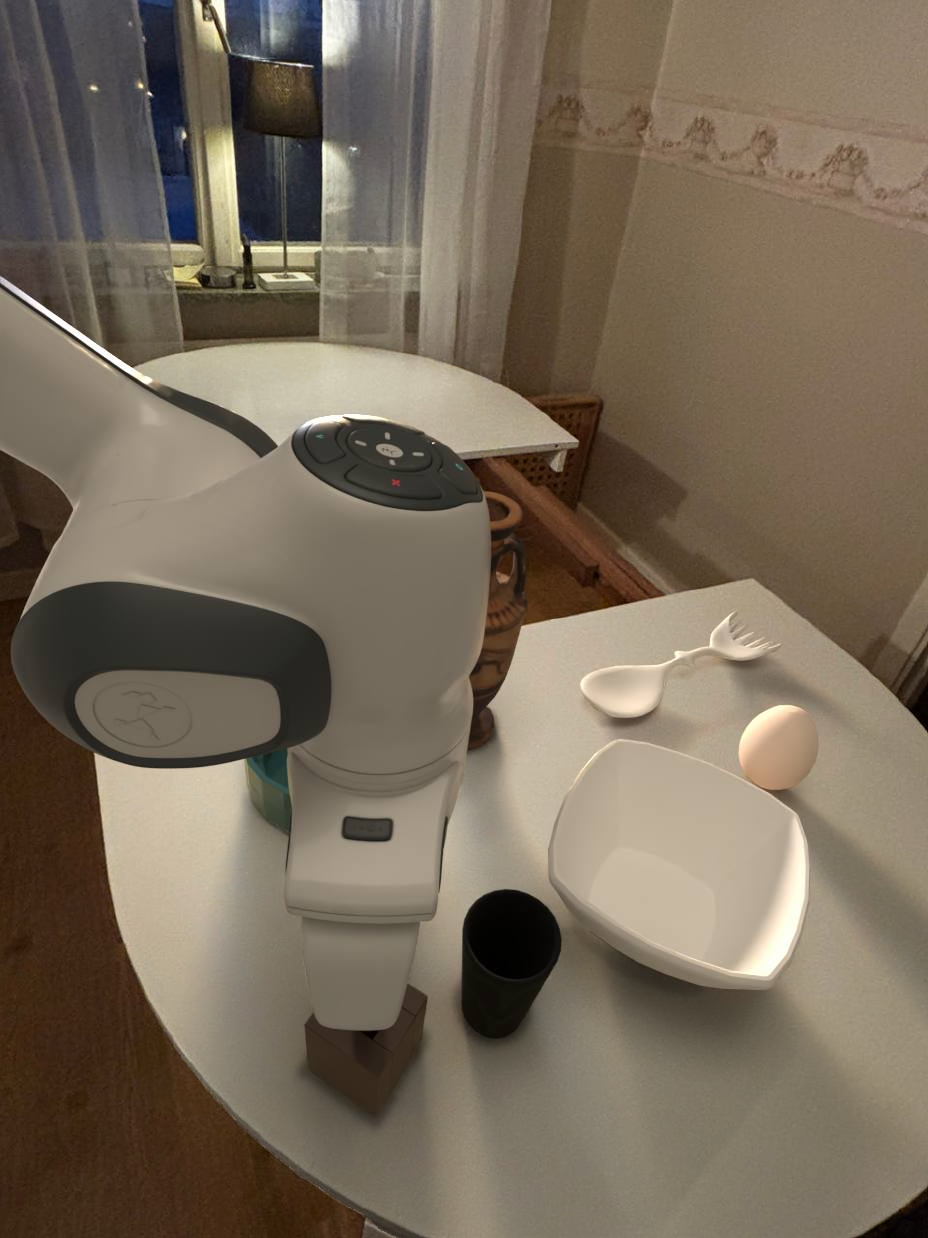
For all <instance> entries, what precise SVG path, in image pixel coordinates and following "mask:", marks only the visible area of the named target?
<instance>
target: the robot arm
mask: <svg viewBox="0 0 928 1238" xmlns="http://www.w3.org/2000/svg"><path fill="white" fill-rule="evenodd" d="M0 451H1V452H4V453H5V454H7V455H9V456H10V457H12V458H14V459H15V460H18V461H19V462H21V463H23V464H25V465H27V466H29V467H30V468H31V469H34V470H35V471H38V472H39V473H41V474H43V475H44V476H46V477H47V478H49V479H50V480H51V481H52V482H53V483H54V484H55V485H57V487H58V488H59V489H60V490H61V491H62V493H63V494H64V495H65V497H66V498H67V500H68V502H69V503H70V505H71V507H72V509H73V510H72V512H71V514H70V516H69V518H68V520H67V522H66V525H65V526H64V528H63V530H62V533H61V534H60V536H59V537H58V539H57V540H56V541H55V543H54V544H53V546H52V548H51V551H50V552H49V555H48V557H47V558H46V560H45V562H44V565H43V567H42V569H41V571H40V573H39V574H38V577H37V579H36V581H35V583H34V585H33V588H32V590H31V592H30V594H29V597H28V598H27V601H26V603H25V606H24V609H23V610H22V614H21V616H20V618H19V621H18V622H17V624H16V626H15V628H14V631H13V634H12V638H11V642H10V658H11V664H12V669H13V672H14V675H15V678H16V679H17V682H18V684H19V685H20V687H21V690H22V692H24V694H25V697H26V698H27V700H29V702H30V703H31V704H32V706H33V707H34V708H35V709H36V711H37V712H38V713H39V714H40V716H41V717H43V718H44V720H45V721H47V722H48V723H49V724H50V725H51V726H52V727H53V728H54V729H56V730H57V731H58V732H59V733H61V734H62V735H63V736H64V737H66V738H68V739H69V740H71V742H73V743H75V744H77V745H79V746H81V747H82V748H84V749H86V750H87V751H90V752H92V753H94V754H97V755H98V756H100V757H104V758H106V759H109V760H111V761H114V762H117V763H121V764H124V765H128V766H132V767H135V768H143V769H160V770H161V769H162V770H163V769H165V770H166V769H167V770H168V769H169V770H170V769H171V770H172V769H175V770H176V769H177V770H178V769H196V768H197V769H198V768H206V767H213V766H219V765H224V764H229V763H233V762H238V761H242V760H244V759H246V758H250V757H254V756H258V755H262V754H267V753H271V752H275V751H279V750H283V749H287V751H288V756H287V773H288V785H289V792H290V798H291V804H292V808H291V810H290V826H289V832H288V838H287V839H288V840H287V846H286V847H287V848H286V855H285V856H286V857H285V866H284V885H283V897H284V906H285V909H286V912H287V913H288V915H291V916H296V917H301V918H300V919H301V921H300V926H301V927H300V929H301V950H302V959H303V967H304V973H305V979H306V985H307V990H308V995H309V999H310V1004H311V1009H312V1013H314V1015H315V1018H316V1020H317V1021H318V1022H319V1023H320V1024H321V1025H323V1026H325V1027H328V1028H333V1029H341V1030H355V1031H371V1030H383V1029H387V1028H389V1027H391V1026H393V1025H394V1023H395V1022H396V1020H397V1019H398V1016H399V1014H400V1010H401V1007H402V1003H403V999H404V996H405V992H406V988H407V984H408V983H409V980H410V976H411V971H412V967H413V963H414V959H415V956H416V951H417V945H418V939H419V935H420V929H421V923H422V922H431V921H433V920H434V918H435V917H436V914H437V910H438V902H439V894H440V892H441V885H442V876H443V875H442V874H443V862H444V861H443V860H444V849H445V845H446V839H447V832H448V828H449V827H448V826H449V823H450V821H451V818H452V816H453V813H454V810H455V807H456V804H457V800H458V797H459V792H460V790H461V788H462V787H461V786H462V783H463V780H464V774H465V767H466V760H467V753H468V749H467V747H468V741H469V734H470V727H471V720H472V714H473V693H472V687H471V683H470V679H469V675H470V673H471V672H472V670H473V668H474V667H475V665H476V662H477V660H478V658H479V655H480V653H481V649H482V645H483V639H484V632H485V624H486V616H487V607H488V597H489V585H490V570H491V527H490V516H489V509H488V505H487V501H486V497H485V495H484V492H483V491H484V490H483V488H482V486H481V484H480V482H479V480H478V479H477V477H476V475H475V473H474V472H473V471H472V469H471V468H470V467H469V466H468V464H466V462H465V461H464V460H463V459H462V458H461V457H460V456H459V454H457V453H456V451H454V449H452V447H450V446H448V445H447V444H444V443H443V442H441V441H439V440H438V439H436V438H434V437H433V436H430V435H429V434H427V433H426V432H425V431H423V430H421V429H418V428H416V427H413V426H411V425H408V424H405V423H402V422H399V421H395V420H393V419H388V418H384V417H380V416H372V415H365V414H364V415H363V414H343V415H328V416H324V417H323V416H321V417H317V418H315V419H311V420H309V421H307V422H305V423H303V424H301V425H300V426H298V427H297V428H295V429H294V431H292V432H291V434H290V435H288V437H287V438H286V439H285V440H284V441H283V442H281V443H280V444H279V445H278V444H277V443H276V441H275V440H274V439H273V438H271V436H269V434H267V433H266V432H265V431H264V430H263V429H261V427H259V426H258V425H257V424H255V423H254V422H252V421H251V420H249V419H247V418H246V417H244V416H243V415H241V414H240V413H236V412H235V411H233V410H231V409H229V408H227V407H224V406H222V405H220V404H217V403H215V402H212V401H209V400H207V399H204V398H201V397H198V396H196V395H193V394H190V393H187V392H185V391H182V390H179V389H176V388H173V387H171V386H169V385H166V384H164V383H161V382H159V381H157V380H155V379H153V378H151V377H149V376H147V375H146V374H143V373H141V372H139V371H138V370H136V369H134V368H132V367H131V366H129V365H128V364H126V363H125V362H123V361H122V360H120V359H118V358H117V357H116V356H115V355H113V354H112V353H110V352H108V351H107V350H106V349H104V348H103V347H101V346H100V345H99V344H97V343H96V342H94V341H93V340H91V339H90V338H89V337H87V336H86V335H85V334H83V333H81V331H79V330H77V329H76V328H74V327H73V326H72V325H70V324H69V323H68V322H66V321H64V320H63V319H62V318H60V317H59V316H58V315H56V314H54V313H53V312H52V311H51V310H49V309H47V308H46V307H45V306H44V305H42V304H41V303H39V302H38V301H36V300H35V299H34V298H32V297H30V296H29V295H28V294H26V293H25V292H24V291H22V290H21V289H19V288H18V287H17V286H15V285H14V284H13V283H12V282H10V281H8V280H7V279H6V278H4V277H2V276H1V275H0Z"/></svg>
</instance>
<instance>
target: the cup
mask: <svg viewBox="0 0 928 1238" xmlns="http://www.w3.org/2000/svg"><path fill="white" fill-rule="evenodd" d="M562 943H563V939H562V933H561V927H560V925H559V923H558V921H557V919H556V916H555V915H554V913H553V912H552V911H551V909H550V908H549V907H548V906H547V905H546V904H545V903H543V902H542V901H541V900H540V899H539V898H537V897H536V896H533V895H532V894H530V893H528V892H526V891H521V890H519V889H511V888H504V889H502V888H501V889H496V890H492V891H490V892H487V893H485V894H483V895H482V896H480V897H479V898H477V899H476V900H475V901H474V902H473V903H472V904H471V906H470V907H469V908H468V910H467V912H466V914H465V916H464V918H463V925H462V930H461V983H460V984H461V986H460V987H461V991H460V993H461V994H460V995H461V996H460V1005H461V1006H460V1007H461V1013H462V1015H463V1018H464V1020H465V1022H466V1023H467V1026H469V1027H470V1029H472V1030H473V1031H474V1033H477V1035H480V1037H484V1038H487V1039H493V1040H498V1039H505V1038H507V1037H509V1036H511V1035H512V1034H514V1033H515V1032H516V1031H517V1030H518V1029H519V1027H520V1026H521V1024H522V1023H523V1021H524V1020H525V1018H526V1017H527V1015H528V1013H529V1011H530V1009H531V1007H532V1006H533V1004H534V1003H535V1001H536V999H537V997H539V994H540V992H541V991H542V989H543V987H544V985H545V984H546V982H547V980H549V979H548V978H549V977H550V975H551V974H552V973H553V970H554V968H555V967H556V965H557V963H558V962H559V958H560V955H561V952H562V945H563V944H562Z"/></svg>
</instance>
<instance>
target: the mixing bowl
mask: <svg viewBox="0 0 928 1238" xmlns="http://www.w3.org/2000/svg"><path fill="white" fill-rule="evenodd" d="M287 756H288V751H287V749H283V750H279V751H275V752H271V753H267V754H262V755H258V756H254V757H250V758H246V759H243V762H244V771H245V778H246V779H245V780H246V784H247V788H248V791H249V795H250V800H251V802H252V803H253V804H254V806H255V807H256V808H257V810H258V811H259V812H260V813H261V814H262V816H263V817H264V818H265V819H266V820H267V821H269V822H271V823H272V824H274V825H276V826H278V827H279V828H281V829H283V830H284V831H285V832H288V833H289V826H290V810H291V808H292V804H291V798H290V792H289V785H288V773H287Z"/></svg>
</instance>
